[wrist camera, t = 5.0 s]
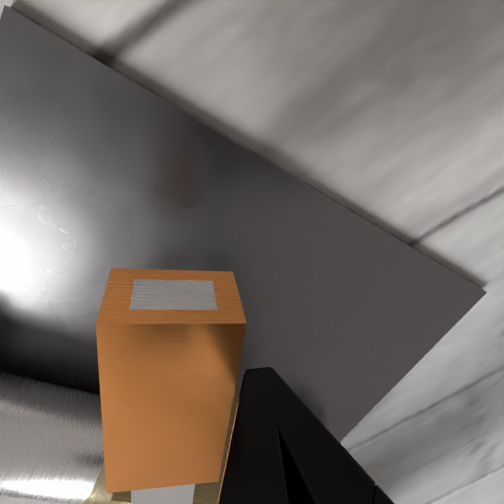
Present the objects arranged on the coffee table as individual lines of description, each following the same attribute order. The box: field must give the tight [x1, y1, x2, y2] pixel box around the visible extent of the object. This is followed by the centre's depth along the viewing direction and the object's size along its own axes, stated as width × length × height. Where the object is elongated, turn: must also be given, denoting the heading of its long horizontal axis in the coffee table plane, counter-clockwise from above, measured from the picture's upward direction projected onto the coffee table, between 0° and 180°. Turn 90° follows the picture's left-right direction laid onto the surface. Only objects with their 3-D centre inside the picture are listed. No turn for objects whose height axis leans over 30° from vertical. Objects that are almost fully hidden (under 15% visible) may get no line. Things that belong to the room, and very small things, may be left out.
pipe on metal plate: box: [0, 5, 487, 504], centre depth 16 cm, size 24×22×7 cm
